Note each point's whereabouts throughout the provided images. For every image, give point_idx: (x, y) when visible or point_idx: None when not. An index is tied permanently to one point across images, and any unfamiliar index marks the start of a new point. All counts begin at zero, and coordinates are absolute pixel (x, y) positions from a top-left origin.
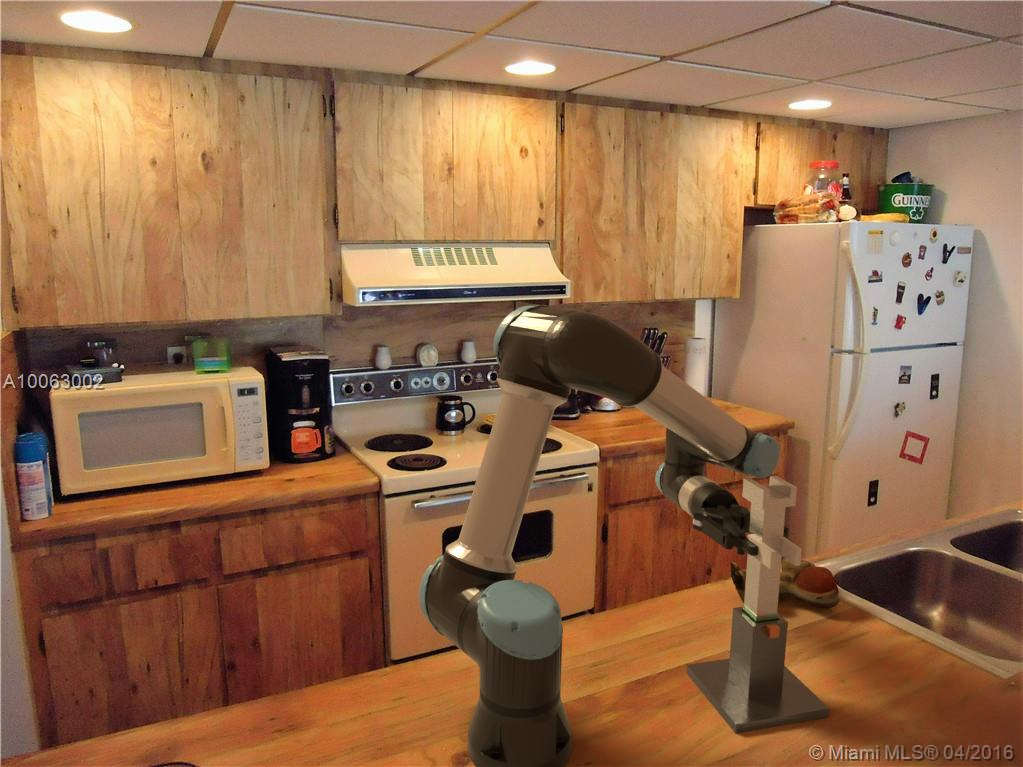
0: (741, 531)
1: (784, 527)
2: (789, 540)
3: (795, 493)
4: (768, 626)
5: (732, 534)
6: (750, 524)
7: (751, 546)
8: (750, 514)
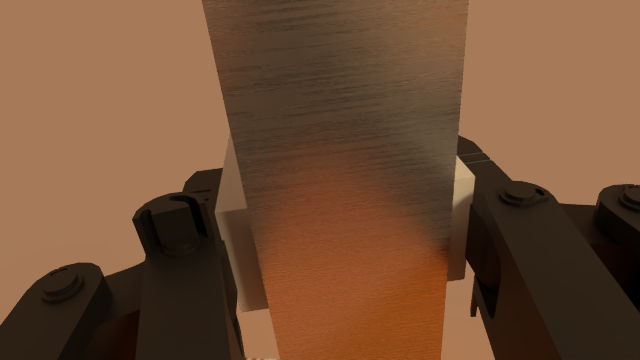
0: (520, 234)
1: (67, 277)
2: (229, 139)
3: None
4: None
5: (606, 192)
6: (453, 126)
7: (463, 140)
8: (466, 27)
